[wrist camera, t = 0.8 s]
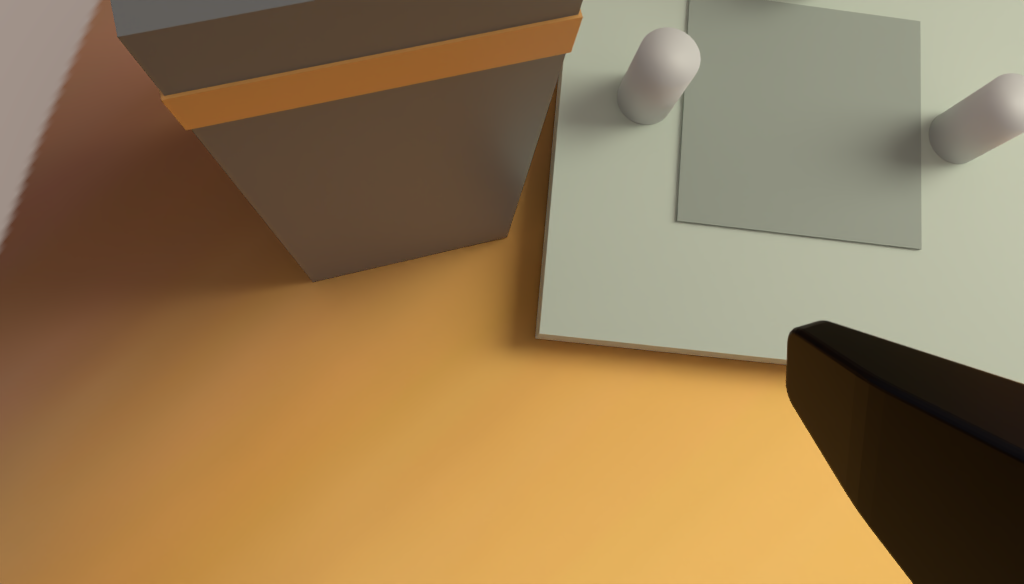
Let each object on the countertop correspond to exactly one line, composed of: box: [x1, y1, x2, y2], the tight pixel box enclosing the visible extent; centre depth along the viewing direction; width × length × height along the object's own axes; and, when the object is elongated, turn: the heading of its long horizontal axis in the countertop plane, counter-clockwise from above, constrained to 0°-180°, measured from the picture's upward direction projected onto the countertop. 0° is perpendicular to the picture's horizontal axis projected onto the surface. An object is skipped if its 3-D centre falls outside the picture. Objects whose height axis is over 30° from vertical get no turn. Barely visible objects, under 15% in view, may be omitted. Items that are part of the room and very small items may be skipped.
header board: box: [535, 0, 1024, 384], centre depth 22 cm, size 14×14×4 cm
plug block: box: [111, 0, 583, 282], centre depth 16 cm, size 6×6×14 cm
